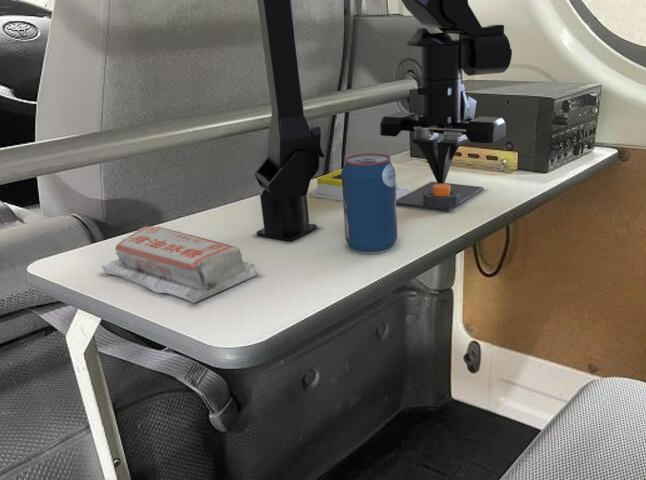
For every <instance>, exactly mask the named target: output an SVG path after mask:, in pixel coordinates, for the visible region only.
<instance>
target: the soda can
mask: <svg viewBox="0 0 646 480" xmlns="http://www.w3.org/2000/svg"><path fill="white" fill-rule="evenodd" d="M344 162H345V163H344V165H343V168H342V169H343V170H342V173H341V176H342V191H343V201H342V204H343V220H344V235H345V241H346V243H347V246H349V247H350V249H351V250H352V251H353V252H354V253H357V254H361V255H377V254H383V253H386V252H389V251H391V250H392V249H393V247H394V245H395V243H396V241H397V240H398V218H397V217H398V216H397V215H398V214H397V212H398V211H397V205H396V200H397V199H396V182H395V173H396V169H395V167H394V165H393V163H392V162H391V157H390V155H389V154H384V153H377V152H374V153H373V152H372V153H371V152H369V153H358V154H353V155H352V154H351V155H349V156H347V157H346V158H345V159H344Z"/></svg>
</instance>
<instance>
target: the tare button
mask: <svg viewBox="0 0 646 480" xmlns="http://www.w3.org/2000/svg"><path fill="white" fill-rule="evenodd" d="M433 195H434V196H448V195H450V185H448V184H435V185H433Z"/></svg>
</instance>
